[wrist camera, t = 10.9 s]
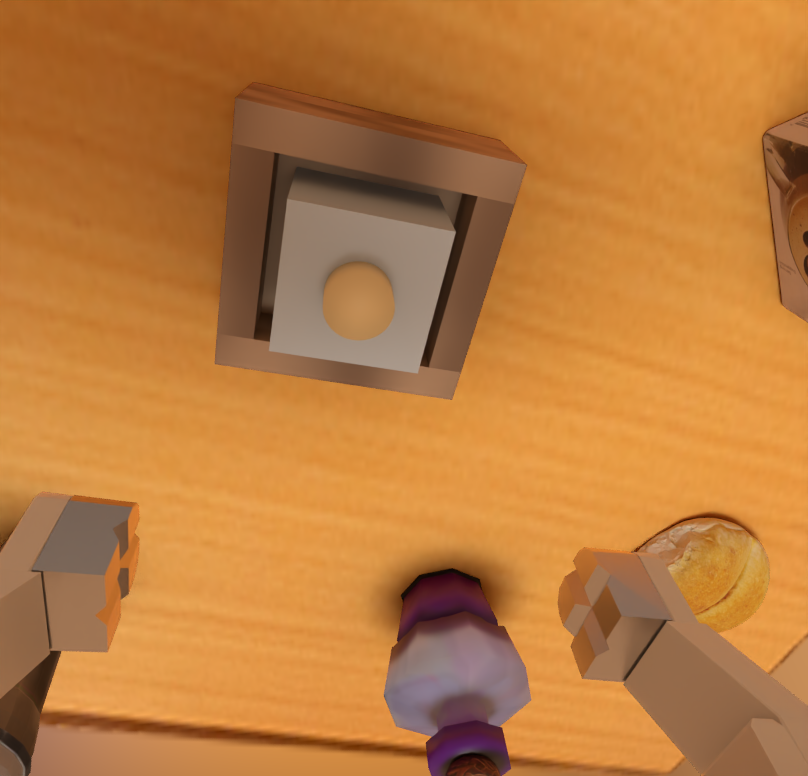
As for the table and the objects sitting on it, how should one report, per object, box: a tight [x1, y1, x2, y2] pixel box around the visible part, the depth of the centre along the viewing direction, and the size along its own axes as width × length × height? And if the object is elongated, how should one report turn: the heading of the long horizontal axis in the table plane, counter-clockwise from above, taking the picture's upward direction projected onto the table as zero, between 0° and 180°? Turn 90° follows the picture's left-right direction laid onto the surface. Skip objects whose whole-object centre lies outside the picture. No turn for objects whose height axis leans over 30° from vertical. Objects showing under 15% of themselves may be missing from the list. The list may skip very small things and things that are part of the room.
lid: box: [269, 167, 456, 374], centre depth 23 cm, size 6×6×6 cm
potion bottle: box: [384, 568, 531, 776], centre depth 35 cm, size 9×9×12 cm
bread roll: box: [637, 518, 770, 633], centre depth 39 cm, size 8×9×4 cm
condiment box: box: [215, 82, 527, 400], centre depth 25 cm, size 10×10×4 cm
